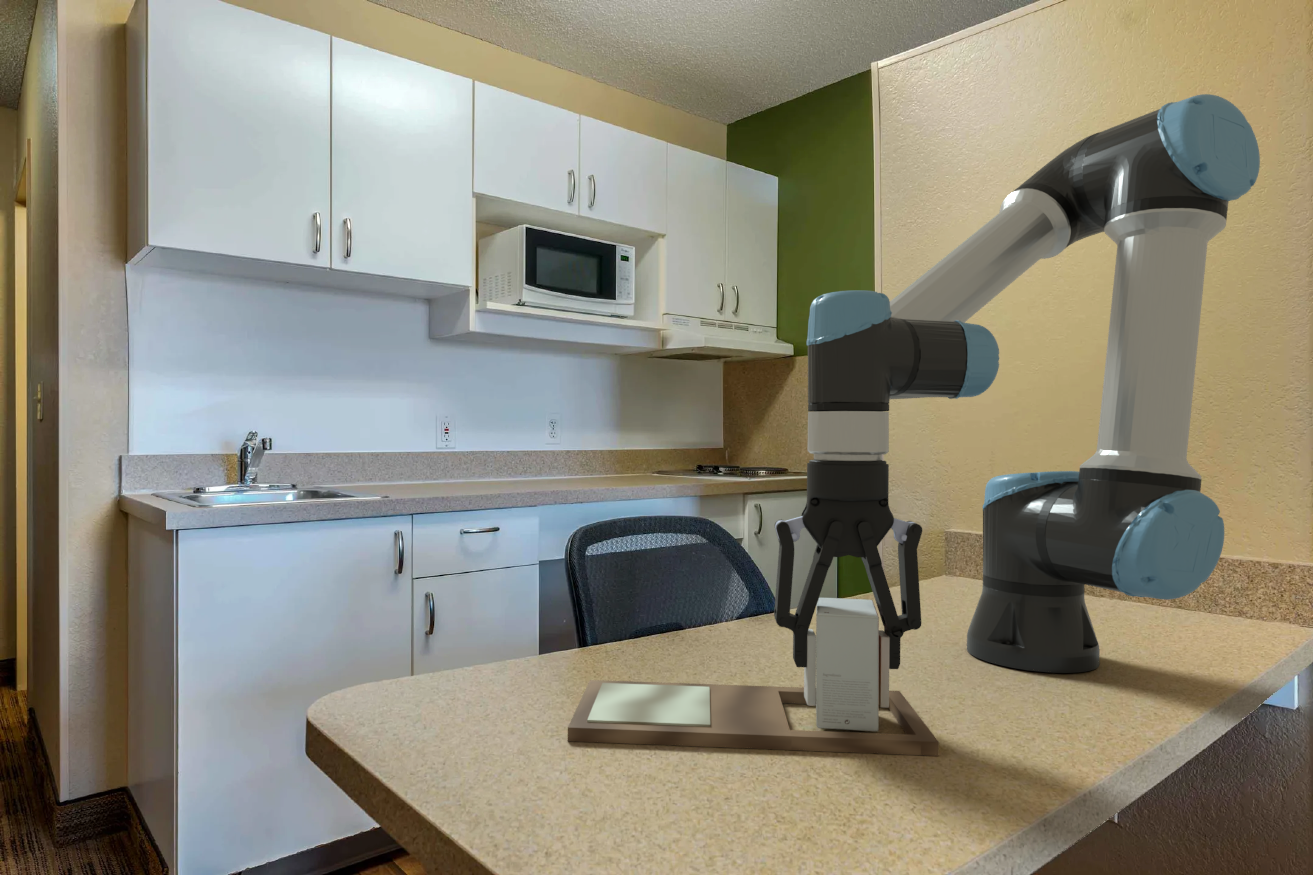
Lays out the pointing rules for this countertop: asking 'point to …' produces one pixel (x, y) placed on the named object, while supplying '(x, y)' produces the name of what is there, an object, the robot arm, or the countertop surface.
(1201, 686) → the countertop surface
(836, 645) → the small box
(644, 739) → the board
